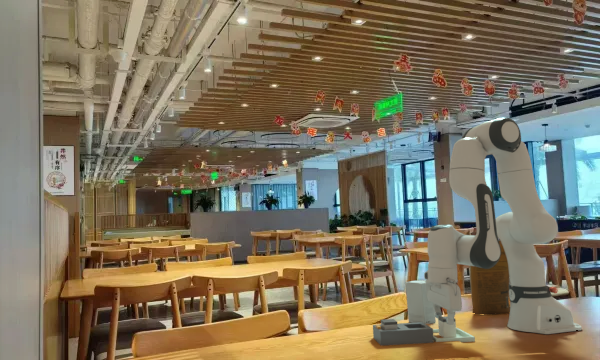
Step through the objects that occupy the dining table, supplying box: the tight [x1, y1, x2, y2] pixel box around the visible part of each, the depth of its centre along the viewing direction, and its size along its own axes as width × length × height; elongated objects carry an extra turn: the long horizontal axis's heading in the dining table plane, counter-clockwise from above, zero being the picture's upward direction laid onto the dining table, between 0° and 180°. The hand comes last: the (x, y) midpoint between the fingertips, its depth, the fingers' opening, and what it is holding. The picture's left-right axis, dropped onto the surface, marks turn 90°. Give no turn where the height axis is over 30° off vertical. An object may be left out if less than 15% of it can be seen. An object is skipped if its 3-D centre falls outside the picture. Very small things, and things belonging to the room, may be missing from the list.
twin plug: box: [380, 318, 398, 330], centre depth 144 cm, size 4×4×6 cm
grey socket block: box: [372, 322, 435, 347], centre depth 144 cm, size 16×9×6 cm, turn 95°
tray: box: [433, 327, 476, 343], centre depth 148 cm, size 12×12×2 cm
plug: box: [437, 316, 457, 338], centre depth 148 cm, size 4×4×6 cm
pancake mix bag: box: [468, 240, 510, 315], centre depth 184 cm, size 7×19×28 cm, turn 99°
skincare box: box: [404, 280, 437, 325], centre depth 172 cm, size 8×6×15 cm
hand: (444, 321), depth 148 cm, fingers open, 8 cm apart
